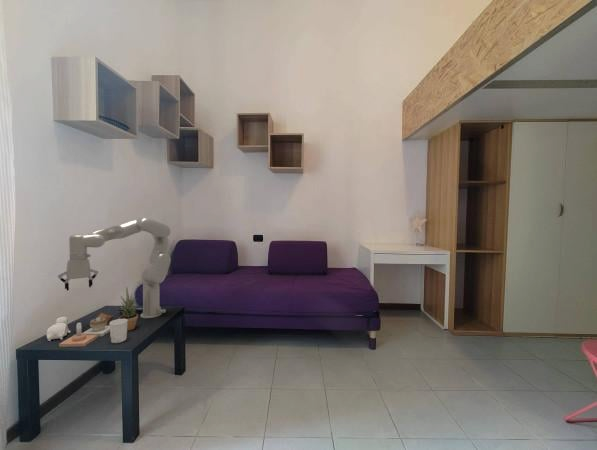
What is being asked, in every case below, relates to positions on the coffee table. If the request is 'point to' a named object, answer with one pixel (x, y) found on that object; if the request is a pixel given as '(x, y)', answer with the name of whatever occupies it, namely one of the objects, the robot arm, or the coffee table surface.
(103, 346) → the coffee table surface
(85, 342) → the hub post
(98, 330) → the stand
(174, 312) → the coffee table surface
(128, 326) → the potted plant
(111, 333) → the white cup
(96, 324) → the birch ring
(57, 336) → the white figurine
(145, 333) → the coffee table surface
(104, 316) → the sunglasses case
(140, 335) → the coffee table surface
